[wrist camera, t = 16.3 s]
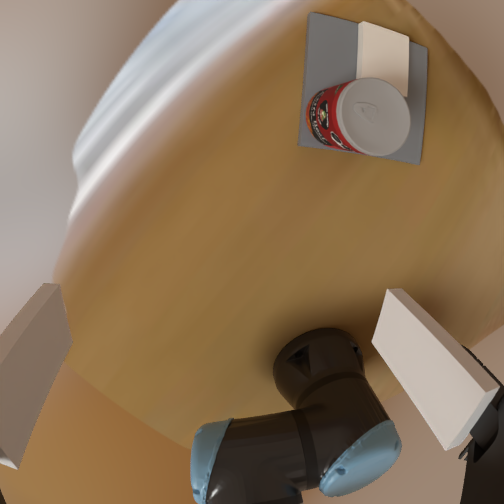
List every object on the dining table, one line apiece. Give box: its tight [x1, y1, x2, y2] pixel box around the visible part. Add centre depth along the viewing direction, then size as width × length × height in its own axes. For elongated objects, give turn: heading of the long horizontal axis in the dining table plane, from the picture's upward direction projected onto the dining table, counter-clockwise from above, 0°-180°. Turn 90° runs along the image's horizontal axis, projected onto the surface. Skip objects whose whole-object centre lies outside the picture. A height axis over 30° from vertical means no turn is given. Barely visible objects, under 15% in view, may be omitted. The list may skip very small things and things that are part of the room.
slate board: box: [298, 12, 427, 165], centre depth 35 cm, size 18×18×1 cm
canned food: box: [306, 77, 411, 156], centre depth 31 cm, size 8×8×11 cm
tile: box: [356, 21, 409, 97], centre depth 33 cm, size 2×7×9 cm
